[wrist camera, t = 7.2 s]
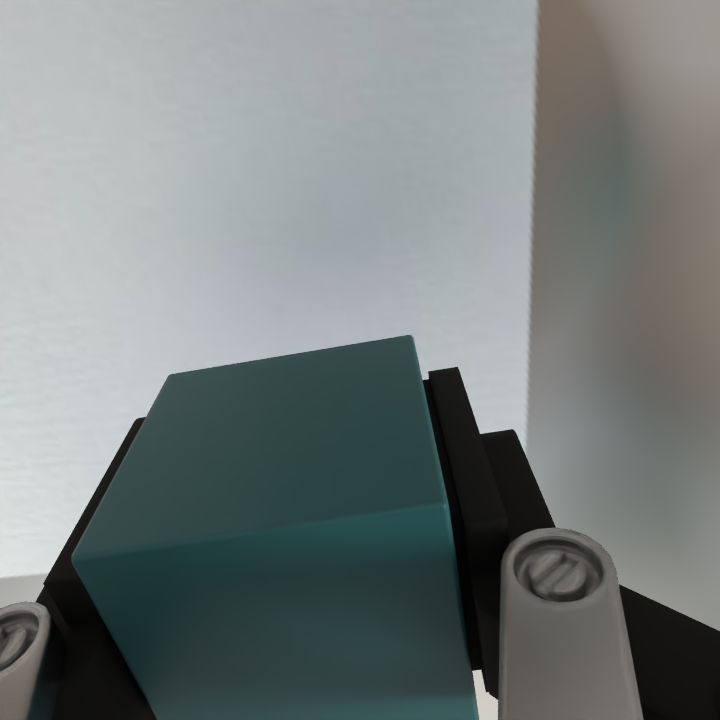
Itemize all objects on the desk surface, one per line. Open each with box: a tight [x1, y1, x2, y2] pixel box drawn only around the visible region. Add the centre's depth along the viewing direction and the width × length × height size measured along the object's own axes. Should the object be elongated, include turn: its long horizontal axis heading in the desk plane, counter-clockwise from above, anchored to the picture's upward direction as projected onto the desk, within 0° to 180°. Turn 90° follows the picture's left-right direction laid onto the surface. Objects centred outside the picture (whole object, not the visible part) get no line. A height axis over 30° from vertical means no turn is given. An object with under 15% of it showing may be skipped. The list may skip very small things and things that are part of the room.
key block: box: [71, 335, 479, 720], centre depth 10 cm, size 4×4×4 cm
